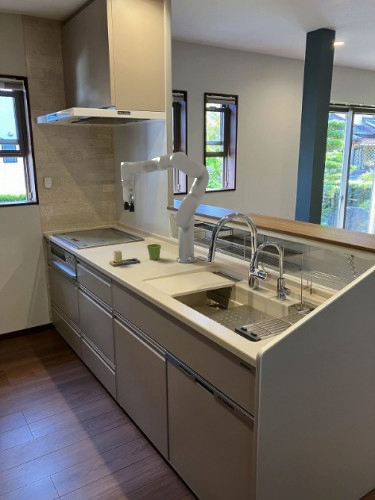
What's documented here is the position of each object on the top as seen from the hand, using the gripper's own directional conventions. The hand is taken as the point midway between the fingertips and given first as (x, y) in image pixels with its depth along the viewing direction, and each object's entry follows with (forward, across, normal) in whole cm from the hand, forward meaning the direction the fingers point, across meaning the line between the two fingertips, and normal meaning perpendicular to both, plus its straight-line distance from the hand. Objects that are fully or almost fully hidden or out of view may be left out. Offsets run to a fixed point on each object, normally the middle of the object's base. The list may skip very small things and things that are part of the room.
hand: (129, 210), depth 249 cm
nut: (+30, -9, +12) cm, 34 cm away
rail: (+30, -9, +8) cm, 32 cm away
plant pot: (+31, -9, -12) cm, 34 cm away
